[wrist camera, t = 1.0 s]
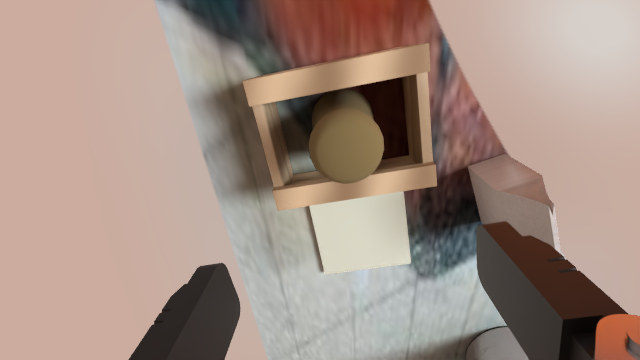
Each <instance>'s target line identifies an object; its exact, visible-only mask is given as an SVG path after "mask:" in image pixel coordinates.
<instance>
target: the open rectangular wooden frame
mask: <svg viewBox="0 0 640 360" xmlns="http://www.w3.org/2000/svg"><path fill="white" fill-rule="evenodd" d="M427 72H430V56H429V43H424V44H415V45H407V46H402V47H397V48H392V49H388V50H383V51H378V52H373V53H368V54H363V55H358V56H354V57H349V58H344V59H339V60H334V61H329V62H324V63H320V64H315V65H310V66H305V67H300V68H295V69H290V70H286V71H281V72H276V73H271V74H266V75H261V76H258V77H255V78H251V79H248V80H245V81H242V82H243V85H244V89H245V93H246V96H247V100H248V104H249V107H251V106H252V107H253V111H254V115H255V119H256V122H257V126H258V130H259V133H260V137H261V141H262V144H263V148H264V152H265V156H266V159H267V163H268V167H269V170H270V174H271V178H272V181H273V185H274V189H273V195H274V199H275V202H276V206H277V210H278V211H279V210H286V209H292V208H299V207H305V206H312V205H318V204H324V203H331V202H337V201H344V200H350V199H357V198H363V197H369V196H376V195H382V194H389V193H395V192H402V191H408V190H414V189H421V188H427V187H434V186H437V177H436V164H435V163H434V162H433V156H432V140H431V124H430V107H429V91H428V75H427ZM399 77H402V82H403V93H404V104H405V115H406V126H407V137H408V148H409V155H408V156H402V157H396V158H390V159H384V160H381V162H380V164H379V165H378V167H377V168H376V170H375V171H374V172H373V173H372V174H371V175H369V176H368V177H367V178H366V179H363V180H361V181H358V182H356V183H348V184H342V183H337V182H333V181H331V180H329V179H327V178H325V177H324V176H323V175H322V174H321V173H320V172H319V171H312V172H306V173H300V174H294V175H293V171H292V167H291V163H290V159H289V155H288V150H287V146H286V142H285V138H284V134H283V130H282V126H281V121H280V117H279V113H278V109H277V105H276V101H281V100H286V99H292V98H297V97H302V96H307V95H312V94H317V93H322V92H327V91H333V90H338V89H343V88H348V87H353V86H358V85H363V84H368V83H374V82H379V81H384V80H389V79H394V78H399Z"/></svg>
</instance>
